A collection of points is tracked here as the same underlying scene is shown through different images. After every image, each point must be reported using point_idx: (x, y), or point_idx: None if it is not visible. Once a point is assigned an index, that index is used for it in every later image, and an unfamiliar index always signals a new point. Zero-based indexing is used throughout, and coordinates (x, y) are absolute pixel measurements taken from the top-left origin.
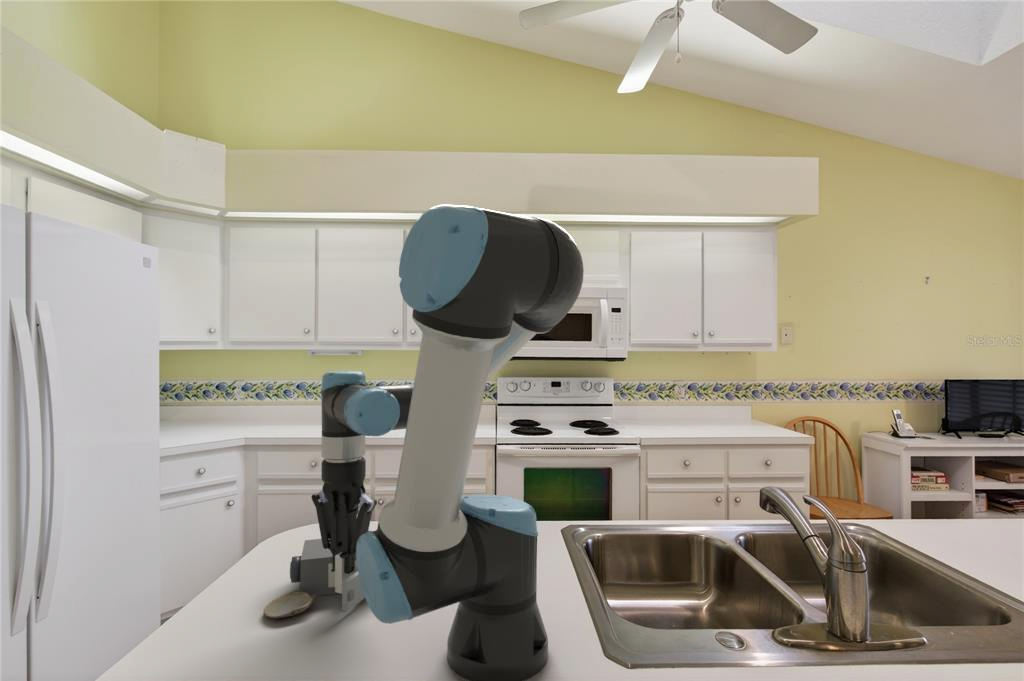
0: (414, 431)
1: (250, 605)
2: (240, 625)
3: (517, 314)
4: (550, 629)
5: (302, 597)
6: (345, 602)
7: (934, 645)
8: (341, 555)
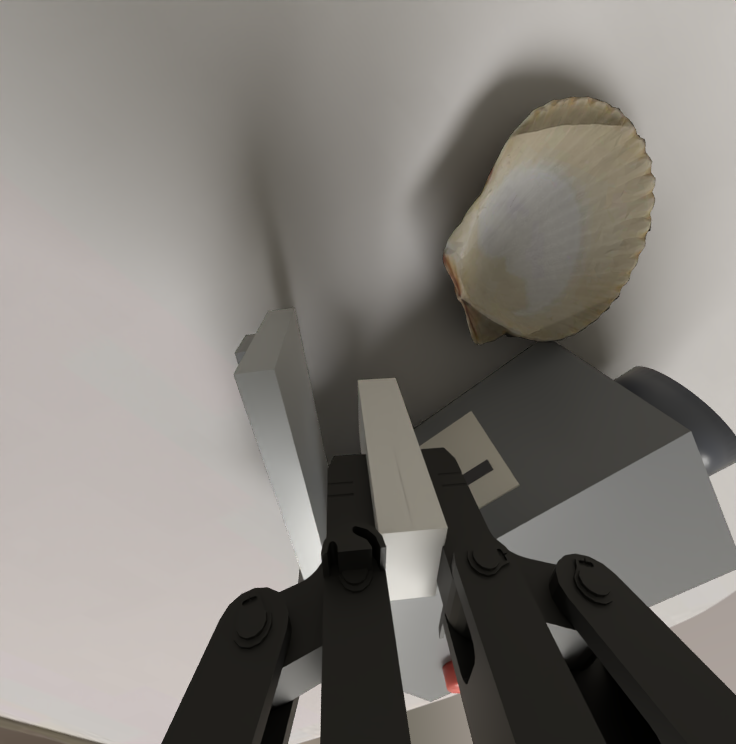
0: None
1: (724, 204)
2: (701, 7)
3: None
4: None
5: (529, 318)
6: (271, 324)
7: None
8: (360, 542)
